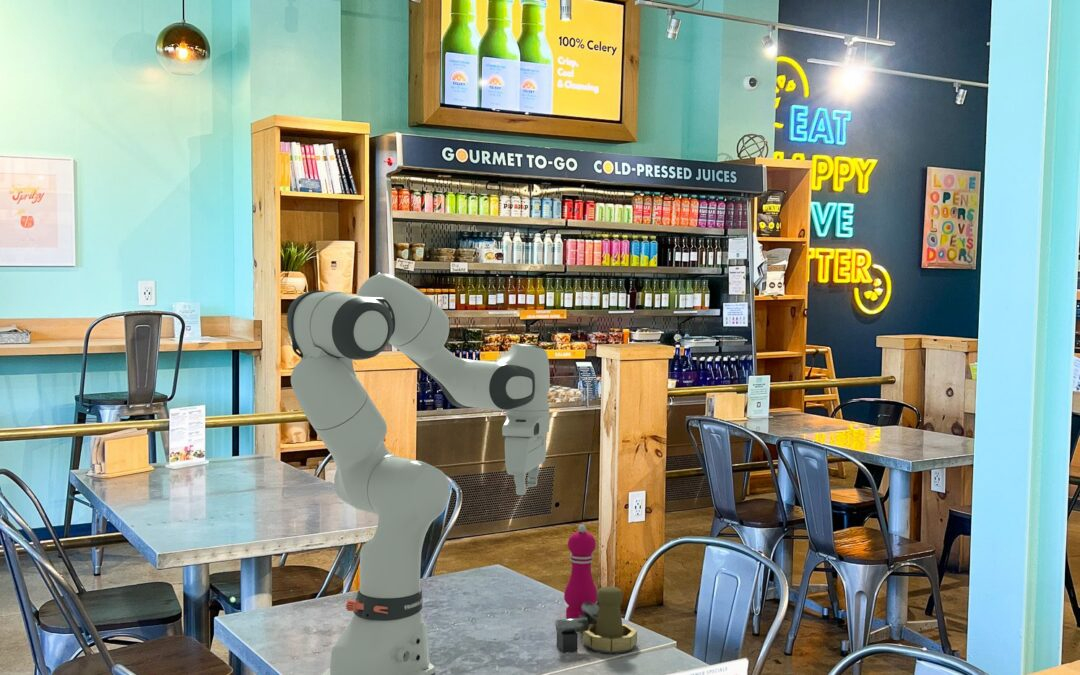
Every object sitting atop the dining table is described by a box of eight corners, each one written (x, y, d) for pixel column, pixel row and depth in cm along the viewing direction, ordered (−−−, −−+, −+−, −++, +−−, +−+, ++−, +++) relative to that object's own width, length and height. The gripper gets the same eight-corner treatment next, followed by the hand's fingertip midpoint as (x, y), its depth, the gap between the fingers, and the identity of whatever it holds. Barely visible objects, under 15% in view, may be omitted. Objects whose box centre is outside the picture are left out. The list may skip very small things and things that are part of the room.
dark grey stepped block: (560, 653, 203) (560, 623, 203) (554, 646, 207) (554, 616, 207) (589, 650, 205) (590, 620, 205) (582, 644, 209) (583, 614, 208)
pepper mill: (603, 615, 228) (605, 524, 227) (585, 624, 222) (587, 529, 221) (575, 609, 232) (576, 519, 231) (557, 617, 226) (558, 525, 225)
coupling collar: (626, 657, 201) (626, 641, 201) (575, 649, 205) (576, 634, 205) (642, 641, 211) (643, 626, 211) (594, 634, 215) (594, 619, 215)
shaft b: (578, 629, 218) (578, 601, 217) (595, 627, 219) (596, 599, 219) (590, 638, 212) (590, 609, 212) (608, 636, 214) (608, 607, 213)
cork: (608, 650, 203) (609, 593, 203) (587, 642, 208) (588, 587, 208) (630, 643, 207) (631, 588, 207) (609, 636, 212) (610, 582, 212)
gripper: (524, 417, 226) (524, 481, 226) (499, 428, 206) (498, 498, 206) (553, 418, 224) (552, 482, 225) (530, 429, 204) (529, 500, 205)
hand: (526, 490), depth 215 cm, fingers open, 8 cm apart
